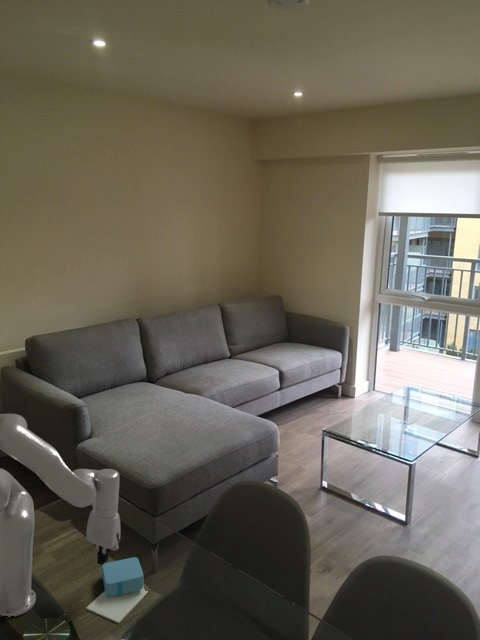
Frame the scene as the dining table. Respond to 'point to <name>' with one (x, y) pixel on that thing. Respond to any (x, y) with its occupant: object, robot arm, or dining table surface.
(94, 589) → the dining table surface
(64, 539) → the dining table surface
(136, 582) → the data package
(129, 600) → the mat
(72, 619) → the dining table surface
